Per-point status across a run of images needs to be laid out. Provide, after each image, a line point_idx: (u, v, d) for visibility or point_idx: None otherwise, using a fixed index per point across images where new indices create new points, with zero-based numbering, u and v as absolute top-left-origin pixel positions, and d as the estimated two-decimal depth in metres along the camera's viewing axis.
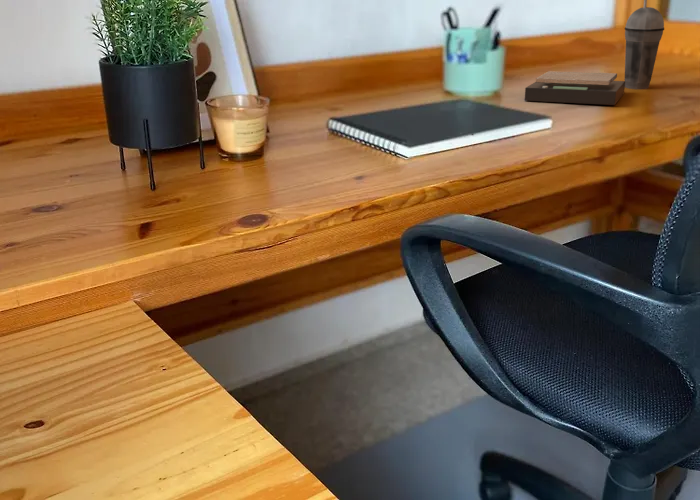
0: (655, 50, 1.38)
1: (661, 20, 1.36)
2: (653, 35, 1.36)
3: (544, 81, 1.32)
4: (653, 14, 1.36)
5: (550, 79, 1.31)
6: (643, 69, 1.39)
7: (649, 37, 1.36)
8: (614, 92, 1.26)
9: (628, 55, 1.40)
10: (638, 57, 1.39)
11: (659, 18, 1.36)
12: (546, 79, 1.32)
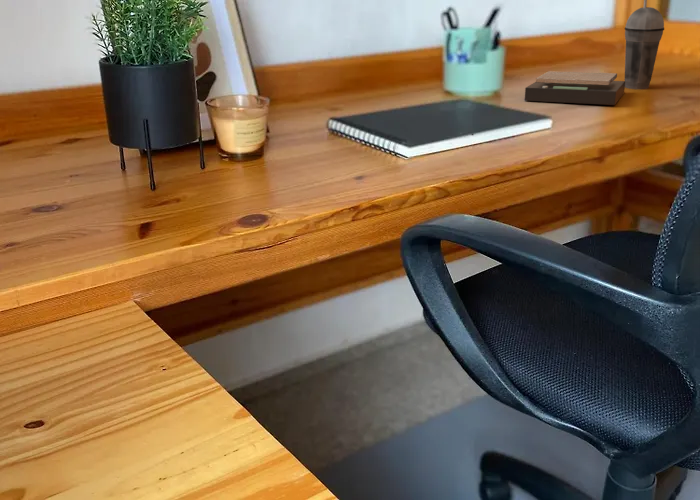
0: (655, 50, 1.38)
1: (661, 20, 1.36)
2: (653, 35, 1.36)
3: (544, 81, 1.32)
4: (653, 14, 1.36)
5: (550, 79, 1.31)
6: (643, 69, 1.39)
7: (649, 37, 1.36)
8: (614, 92, 1.26)
9: (628, 55, 1.40)
10: (638, 57, 1.39)
11: (659, 18, 1.36)
12: (546, 79, 1.32)
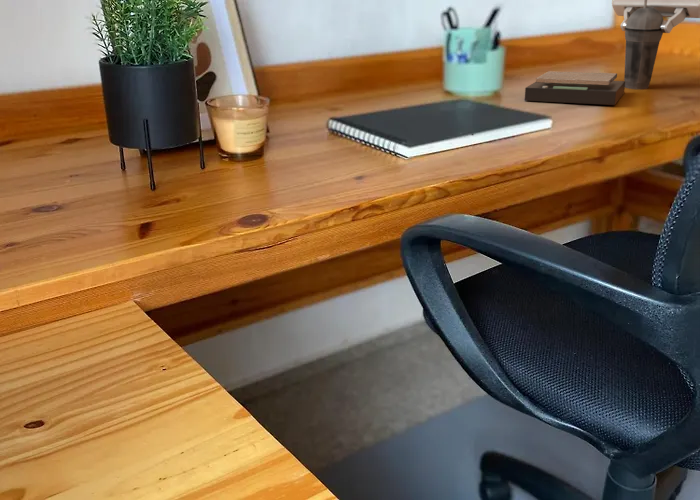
0: (655, 50, 1.38)
1: (661, 20, 1.36)
2: (653, 35, 1.36)
3: (544, 81, 1.32)
4: (654, 14, 1.36)
5: (550, 79, 1.31)
6: (643, 69, 1.39)
7: (649, 37, 1.36)
8: (614, 92, 1.26)
9: (628, 55, 1.40)
10: (638, 57, 1.39)
11: (659, 18, 1.36)
12: (546, 79, 1.32)
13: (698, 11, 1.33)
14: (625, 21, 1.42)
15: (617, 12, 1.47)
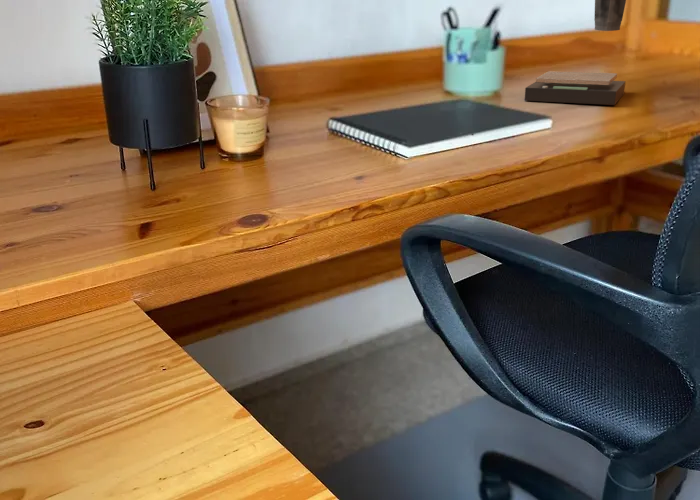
0: None
1: None
2: None
3: (544, 81, 1.32)
4: None
5: (550, 79, 1.31)
6: (613, 6, 1.31)
7: None
8: (614, 92, 1.26)
9: None
10: None
11: None
12: (546, 79, 1.32)
13: None
14: None
15: None
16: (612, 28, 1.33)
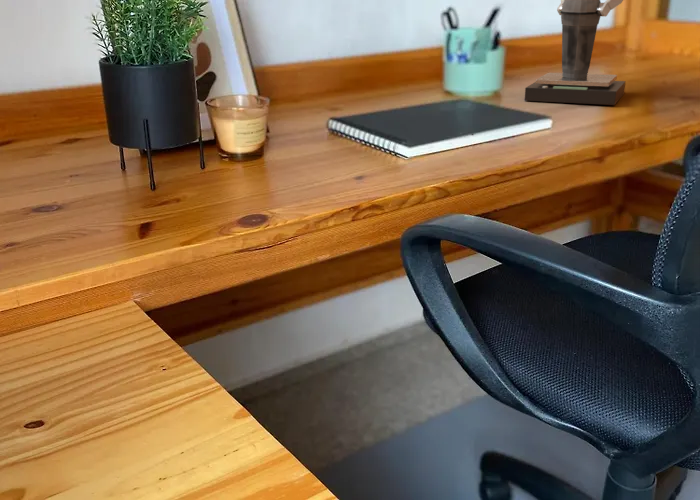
0: (592, 35, 1.29)
1: (598, 3, 1.27)
2: (589, 19, 1.27)
3: (544, 82, 1.32)
4: None
5: (550, 80, 1.32)
6: (580, 55, 1.31)
7: (585, 21, 1.27)
8: (614, 92, 1.26)
9: (564, 40, 1.31)
10: (574, 42, 1.30)
11: (595, 1, 1.27)
12: (546, 80, 1.32)
13: None
14: (562, 4, 1.33)
15: None
16: (579, 76, 1.32)
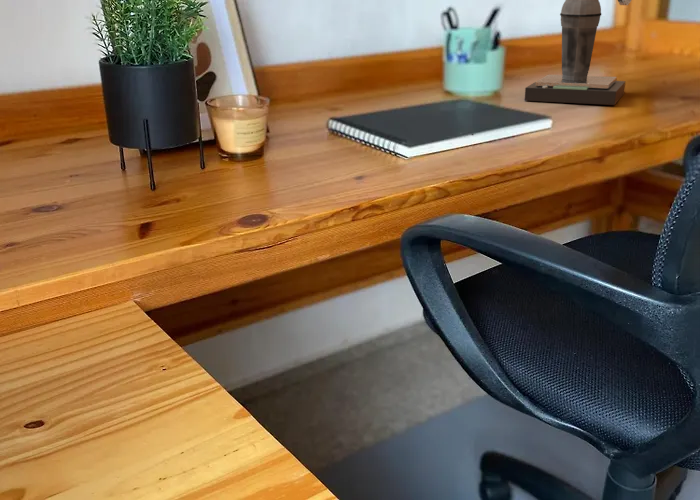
0: (592, 37, 1.30)
1: (597, 5, 1.27)
2: (589, 21, 1.28)
3: (544, 85, 1.32)
4: None
5: (550, 83, 1.32)
6: (579, 57, 1.31)
7: (584, 23, 1.28)
8: (614, 92, 1.26)
9: (564, 43, 1.31)
10: (574, 44, 1.30)
11: (595, 3, 1.27)
12: (546, 83, 1.32)
13: None
14: None
15: None
16: (579, 78, 1.33)
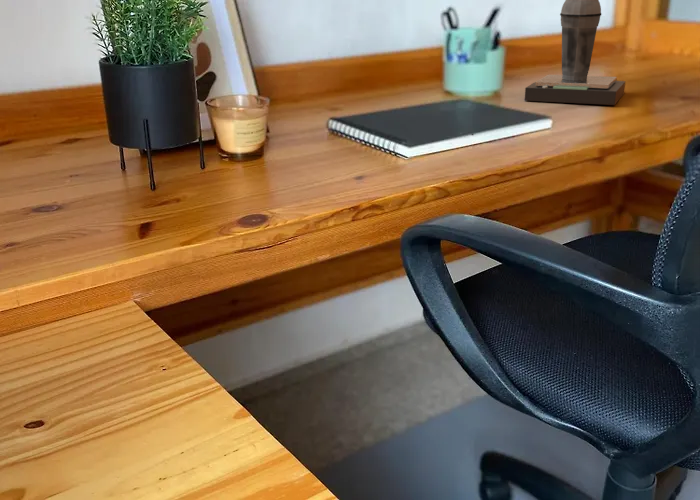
0: (592, 37, 1.30)
1: (597, 5, 1.27)
2: (589, 21, 1.28)
3: (544, 85, 1.32)
4: None
5: (550, 83, 1.32)
6: (579, 57, 1.31)
7: (584, 23, 1.28)
8: (614, 92, 1.26)
9: (564, 43, 1.31)
10: (574, 44, 1.30)
11: (595, 3, 1.27)
12: (546, 83, 1.32)
13: None
14: None
15: None
16: (579, 78, 1.33)
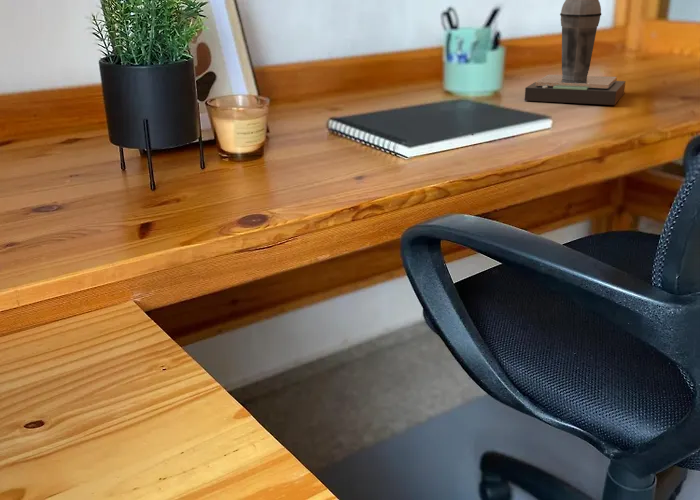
0: (592, 37, 1.30)
1: (597, 5, 1.27)
2: (589, 21, 1.28)
3: (544, 85, 1.32)
4: None
5: (550, 83, 1.32)
6: (579, 57, 1.31)
7: (584, 23, 1.28)
8: (614, 92, 1.26)
9: (564, 43, 1.31)
10: (574, 44, 1.30)
11: (595, 3, 1.27)
12: (546, 83, 1.32)
13: None
14: None
15: None
16: (579, 78, 1.33)
